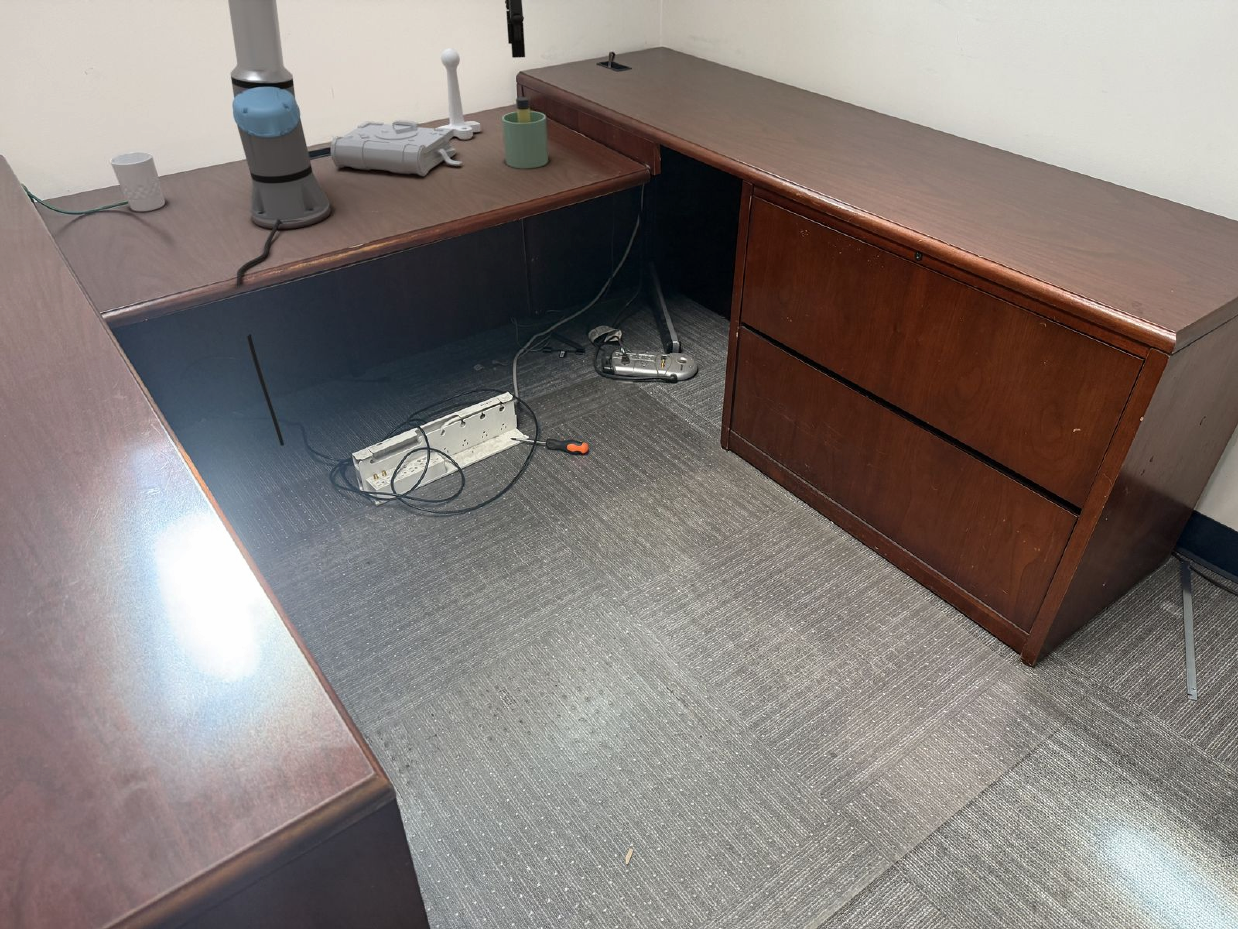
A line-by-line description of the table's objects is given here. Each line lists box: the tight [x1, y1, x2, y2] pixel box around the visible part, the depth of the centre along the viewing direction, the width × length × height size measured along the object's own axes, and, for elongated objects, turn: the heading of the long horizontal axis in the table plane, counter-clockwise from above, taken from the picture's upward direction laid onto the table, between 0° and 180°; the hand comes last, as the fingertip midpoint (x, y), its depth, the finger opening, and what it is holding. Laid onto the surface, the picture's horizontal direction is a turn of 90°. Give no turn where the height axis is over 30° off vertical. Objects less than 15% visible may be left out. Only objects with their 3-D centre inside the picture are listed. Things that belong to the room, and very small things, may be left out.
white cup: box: [109, 151, 166, 212], centre depth 175 cm, size 8×8×10 cm
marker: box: [515, 96, 531, 123], centre depth 194 cm, size 3×3×13 cm
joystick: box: [437, 47, 482, 140], centre depth 208 cm, size 11×8×20 cm
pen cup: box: [501, 110, 549, 169], centre depth 196 cm, size 10×10×10 cm
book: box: [330, 119, 463, 177], centre depth 196 cm, size 19×28×8 cm
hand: (516, 50), depth 184 cm, fingers open, 13 cm apart
